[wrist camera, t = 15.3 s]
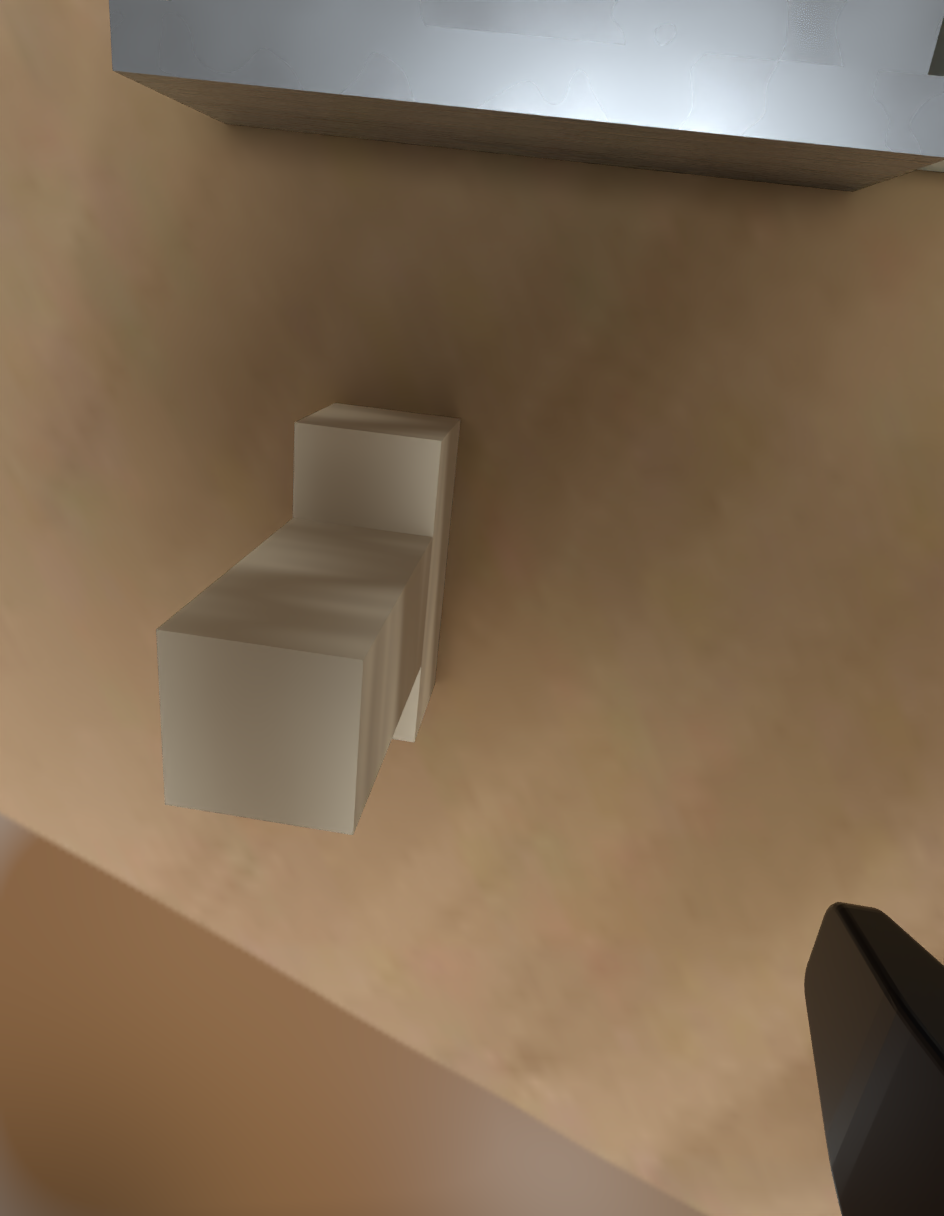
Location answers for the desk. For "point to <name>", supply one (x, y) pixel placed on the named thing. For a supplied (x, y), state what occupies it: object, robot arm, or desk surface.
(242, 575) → the pale step bench
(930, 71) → the tray
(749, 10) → the slot rail
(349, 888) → the desk surface
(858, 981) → the robot arm
